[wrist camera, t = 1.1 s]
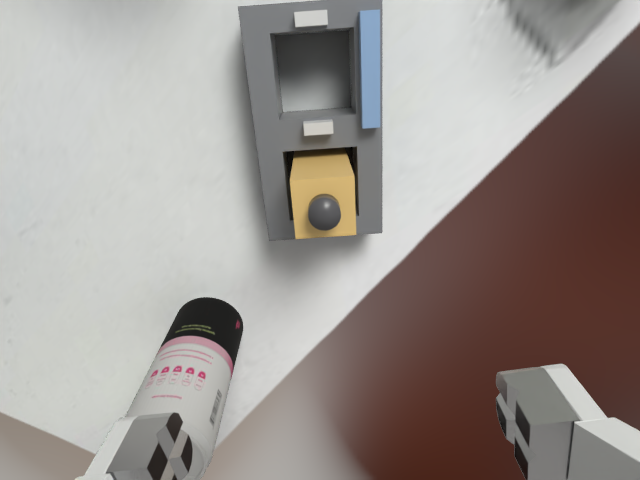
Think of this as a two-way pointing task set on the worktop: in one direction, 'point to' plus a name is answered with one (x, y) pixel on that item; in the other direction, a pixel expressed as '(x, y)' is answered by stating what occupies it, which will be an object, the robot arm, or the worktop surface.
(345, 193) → the drawer with knob
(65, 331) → the worktop surface
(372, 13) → the grey compartment tray
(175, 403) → the beverage can
